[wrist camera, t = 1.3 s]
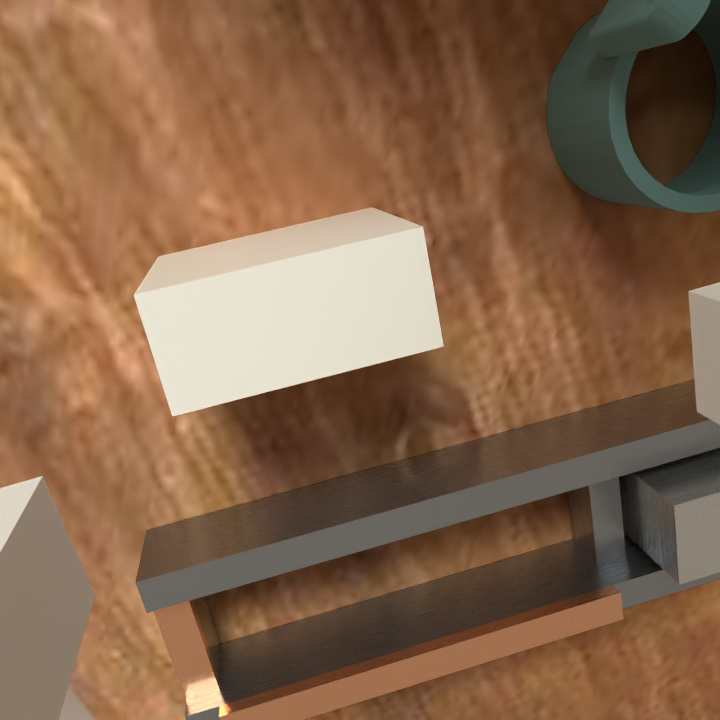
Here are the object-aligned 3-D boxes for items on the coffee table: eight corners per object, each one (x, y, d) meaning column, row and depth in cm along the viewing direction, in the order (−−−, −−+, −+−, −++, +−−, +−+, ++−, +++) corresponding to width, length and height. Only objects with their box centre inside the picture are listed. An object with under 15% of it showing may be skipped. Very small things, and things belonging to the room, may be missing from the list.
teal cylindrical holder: (730, 183, 32) (915, 192, 23) (543, 221, 31) (666, 245, 22) (729, -34, 29) (938, -114, 21) (524, -1, 28) (655, -71, 19)
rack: (146, 530, 31) (129, 614, 26) (832, 341, 35) (948, 378, 29) (198, 677, 34) (192, 782, 28) (829, 486, 38) (935, 545, 32)
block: (158, 256, 28) (133, 294, 20) (371, 207, 29) (423, 226, 21) (186, 348, 29) (172, 416, 22) (389, 297, 30) (443, 346, 23)
